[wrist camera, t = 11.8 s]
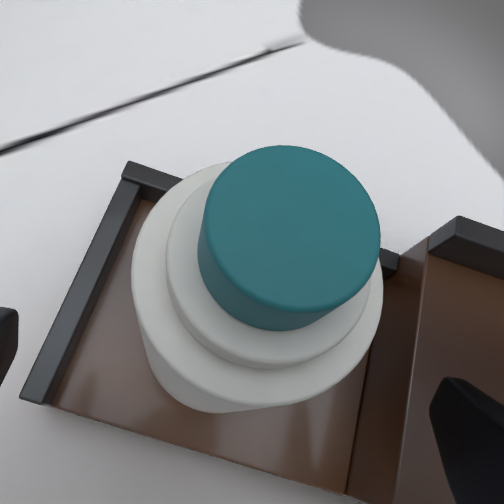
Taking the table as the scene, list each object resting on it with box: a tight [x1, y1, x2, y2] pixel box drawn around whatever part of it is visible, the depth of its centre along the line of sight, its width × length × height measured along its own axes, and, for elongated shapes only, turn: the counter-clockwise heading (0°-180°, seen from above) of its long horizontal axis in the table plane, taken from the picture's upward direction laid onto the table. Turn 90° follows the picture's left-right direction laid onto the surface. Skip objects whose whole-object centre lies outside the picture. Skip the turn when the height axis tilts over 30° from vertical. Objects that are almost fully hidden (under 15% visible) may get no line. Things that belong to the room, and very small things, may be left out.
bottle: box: [131, 145, 383, 413], centre depth 10 cm, size 5×5×9 cm
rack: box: [19, 161, 504, 504], centre depth 14 cm, size 8×19×6 cm, turn 74°
